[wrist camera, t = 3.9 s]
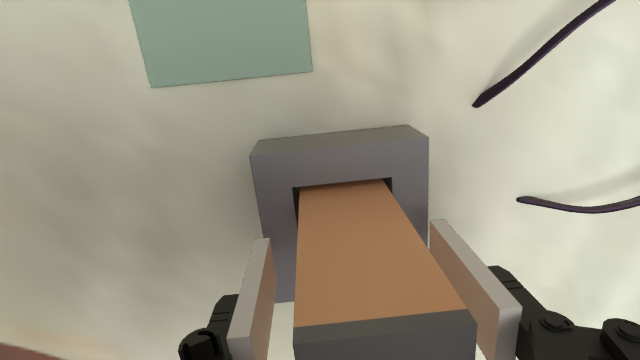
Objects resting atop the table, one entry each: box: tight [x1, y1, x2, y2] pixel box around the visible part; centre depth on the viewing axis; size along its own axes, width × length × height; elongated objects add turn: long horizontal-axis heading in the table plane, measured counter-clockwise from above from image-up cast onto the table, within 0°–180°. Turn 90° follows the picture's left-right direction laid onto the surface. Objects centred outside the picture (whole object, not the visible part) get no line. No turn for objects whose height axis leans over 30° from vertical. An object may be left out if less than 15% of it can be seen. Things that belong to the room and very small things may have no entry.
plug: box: [293, 178, 478, 360], centre depth 17 cm, size 5×5×15 cm
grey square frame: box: [249, 125, 429, 303], centre depth 22 cm, size 10×10×4 cm
